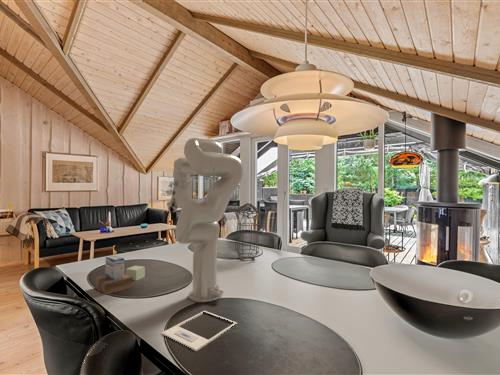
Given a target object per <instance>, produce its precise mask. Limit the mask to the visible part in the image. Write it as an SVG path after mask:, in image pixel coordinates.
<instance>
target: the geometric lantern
mask: <svg viewBox="0 0 500 375" xmlns="http://www.w3.org/2000/svg"><path fill="white" fill-rule="evenodd" d="M246 210H247V211H246ZM233 213H234V214H235V217H236V219H237V225H236V235H235V244H234V245H235V246H234V252H236V254H237V255H238V259H239V260H240V261H242V262H247V261H249V259H244V258H251V259H252V261H255V257H256V256H257V255H258V254H259V253H260V252H259V243H260V242H258V237H259V224H258V222H259V221H258V220H259V218H260V217H261V216H262V215H263V214H264V212H263V211H261V209H259V208H257V207H256V206H255V205H253V204H252V203H249V202H246V203H245V204H243V205H242V206H240V207H238V208H236V209H235V210H233ZM240 215H241V216H242V217H241V219H240V218H239V217H240ZM250 216H252V217H250ZM243 217H246V219H245V221H244V222H242V220H243ZM255 218H256V219H255ZM251 219H253V222H252V220H251ZM247 220H249V222H246V221H247ZM244 226H246V227H249V226H250V229H251V230H250V239H252V238H253V237H252V235H253V227H254V229H256V233H255V239H253V248H252V240H250V246H249V248H244V230H242V227H244ZM241 234H242V236H241ZM241 237H242V238H241ZM241 240H242V241H241ZM241 242H242V243H241ZM240 244H241V249H240ZM248 250H249V252H244V251H248ZM240 251H241V252H240ZM244 255H245V256H244ZM246 255H247V256H246Z"/></svg>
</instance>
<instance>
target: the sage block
mask: <svg viewBox="0 0 500 375" xmlns="http://www.w3.org/2000/svg"><path fill="white" fill-rule="evenodd" d="M125 274H127V275H129V276H131V277H133V279H132V281H139V280H141V279H143V278H145V277H146V267H145V266H141V265H133V266H130V267H128V268H126V269H125Z"/></svg>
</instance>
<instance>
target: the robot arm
mask: <svg viewBox="0 0 500 375" xmlns="http://www.w3.org/2000/svg"><path fill="white" fill-rule="evenodd" d="M183 154H184V155H183V156H184V157H179V158H177V159H175V160H174V162H173V182H172V186H173V187H172V190H171V196H170V200H169V201H168V202H166V205H167V209H168V211H169V213H170V221H176V225H175V230H174V237H175V239H176V241H177V243H179V244H181V245H188V244H189V245H190V244H196V246H195V247H194V250H193V253H192V290H191V291H190V292H189V293H188V299H189V300H191V301H192V302H196V303H209V302H213V301H216V300H218V299H221V298H222V296H223V294H224V290H222V289H219V286H220V285H218V284H217V278H218V276H217V269H218V268H217V267H218V266H217V265H218V264H217V263H218V262H217V261H218V259H217V258H218V242H219V237H220V230H221V229H220V228H221V227H220V224H219V221H221V219H223V216H224V214H225V212H226V209H227V207H228V205H229V203H230V200H231V197H232V196H233V194H234V193H235V192H236V190H237V188H238V187H239V185H240V184H241V180H242V177H243V168H244V167H243V163H242V161H241V159H240V158H239V157H238V156H236V155H233V154H230V153H223V147H222V145H221V144H220V143H219V142H217V141H216V140H214V139H206V138H197V137H192V138H189V139H188V140H187V141H185V144H184V147H183ZM190 175H198V176H199V177H200V176H201V177H210V178H211V177H212V178H213V177H215V178H216V177H218V178H219V179H217V180H216V181H215V182H214V183H213V184H212V185H211V186H210V187H209V189H208V191H207V194H206V196H205V197H201V198H197V197H196V198H195V197H194V198H192V190H191V187H190ZM178 209H180V211H179V214H178V218H177V210H178Z"/></svg>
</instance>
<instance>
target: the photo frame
mask: <svg viewBox="0 0 500 375" xmlns="http://www.w3.org/2000/svg"><path fill="white" fill-rule="evenodd" d="M203 312H204V313H205V314H208V315H212V316H214V317H216V318H219V317H220V318H219V319H223V320H224V319H225V321H227V320H228V322H230V323H232V322H233V323H232V324H230V325H228V327H226V328H224V329H223V330H221V331H219V332H218V333H216V335H214V336H212V337H210V338H209V339H207V338H205V337H203V336H201V335H198V334H196V333H193V332H192V331H190V330H187V329H185V328H183V327H181V326H182V325H184V324H187V323H189V322H191V321H193V320H195V319H197V318H199V316H200V317H201V316H202V315H203ZM192 319H193V320H192ZM190 320H191V321H190ZM188 321H189V322H188ZM186 322H187V323H186ZM235 324H237V325H238V322H236V321H233V320H231V319H229V318H226V317H223V316H220V315H217V314H215V313H212V312H209V311H207V310H203V311H201V312H199V313H197V314H195V315H193V316H191V317H189V318H187V319H186V320H183V321H182V322H179V323H178V324H175V325H173V326H172V327H170V328H168V329H166V330H164V331H163V332H161V335H162V336H165V337H166V336H167V338H168V337H169V338H168V339H170V338H171V340H172V339H173V341H174V340H175V342H176V341H177V342H176V343H178V342H179V343H178V344H180V343H181V344H180V345H182V344H183V345H182V346H184V345H185V347H186V346H187V348H188V347H189V348H188V349H190V348H191V350H193V351H195V352H198V351H199V350H200V349H202V348H204V347H205V346H207V345H209V343H212V342H213V341H215V340H216V339H217V338H219V337H220V336H222V335H223V334H225V333H226V332H227V330H228V331H229V330H231V329H232V328H233V327H232V326H234V325H235ZM235 326H236V325H235ZM235 326H234V327H235ZM231 327H232V328H231ZM230 328H231V329H230ZM224 332H225V333H224ZM221 334H222V335H221Z"/></svg>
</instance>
